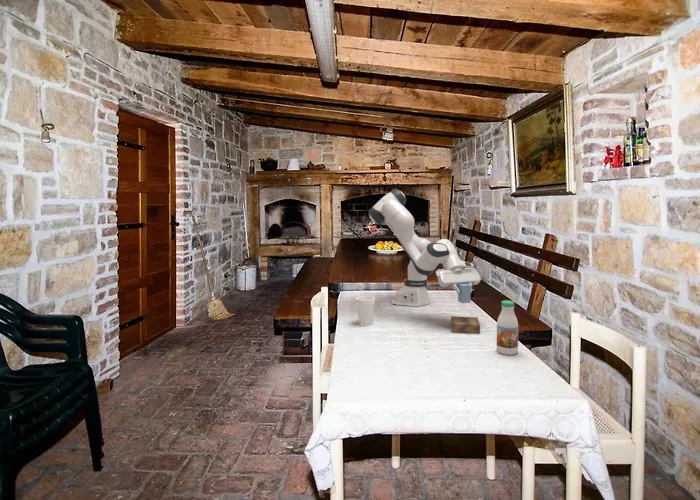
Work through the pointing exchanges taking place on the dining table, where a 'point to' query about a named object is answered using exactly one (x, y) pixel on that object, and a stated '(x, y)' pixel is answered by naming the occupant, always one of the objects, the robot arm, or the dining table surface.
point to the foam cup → (365, 309)
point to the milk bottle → (507, 329)
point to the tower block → (464, 293)
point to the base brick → (465, 325)
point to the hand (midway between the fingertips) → (465, 292)
